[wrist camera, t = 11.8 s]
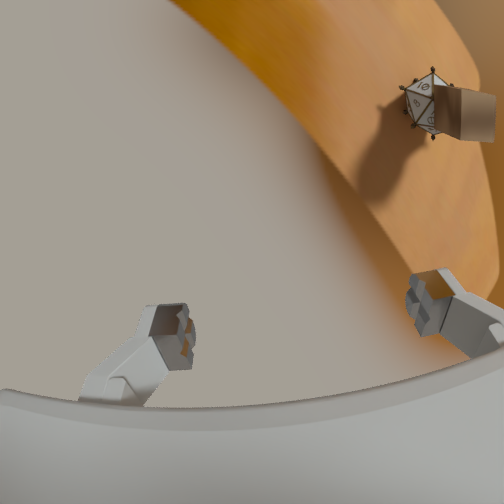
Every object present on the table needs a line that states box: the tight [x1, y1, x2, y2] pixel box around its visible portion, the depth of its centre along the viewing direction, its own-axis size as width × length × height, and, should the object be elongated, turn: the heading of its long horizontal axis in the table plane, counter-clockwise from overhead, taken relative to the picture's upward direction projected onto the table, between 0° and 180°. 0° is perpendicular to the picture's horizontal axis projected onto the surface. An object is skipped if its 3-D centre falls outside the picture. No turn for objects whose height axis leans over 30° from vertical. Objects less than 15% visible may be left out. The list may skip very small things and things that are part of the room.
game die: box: [399, 66, 454, 140], centre depth 29 cm, size 9×8×10 cm
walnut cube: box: [434, 84, 496, 143], centre depth 24 cm, size 5×5×5 cm
